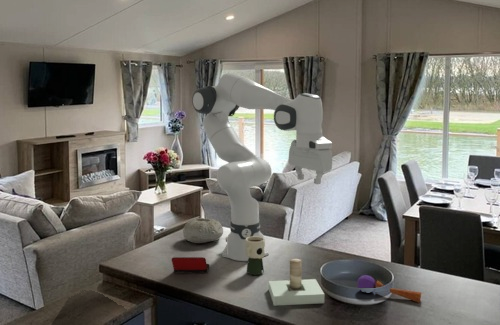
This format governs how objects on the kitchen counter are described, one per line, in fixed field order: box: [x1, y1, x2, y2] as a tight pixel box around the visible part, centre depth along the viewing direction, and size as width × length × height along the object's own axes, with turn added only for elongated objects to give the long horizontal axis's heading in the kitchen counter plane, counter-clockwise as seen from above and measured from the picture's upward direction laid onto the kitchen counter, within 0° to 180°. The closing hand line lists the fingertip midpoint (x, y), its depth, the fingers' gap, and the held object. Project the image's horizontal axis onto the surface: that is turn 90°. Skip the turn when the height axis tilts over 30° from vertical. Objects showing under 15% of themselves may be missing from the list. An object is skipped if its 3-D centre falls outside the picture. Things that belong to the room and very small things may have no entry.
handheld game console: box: [171, 256, 210, 274], centre depth 176 cm, size 12×11×7 cm
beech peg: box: [289, 258, 303, 291], centre depth 153 cm, size 4×4×12 cm
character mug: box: [245, 236, 266, 276], centre depth 173 cm, size 11×7×13 cm, turn 149°
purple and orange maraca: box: [356, 274, 422, 304], centre depth 153 cm, size 6×6×20 cm
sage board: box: [268, 278, 325, 307], centre depth 154 cm, size 12×16×3 cm
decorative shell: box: [182, 217, 224, 244], centre depth 210 cm, size 18×18×10 cm
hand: (308, 181), depth 163 cm, fingers open, 8 cm apart
